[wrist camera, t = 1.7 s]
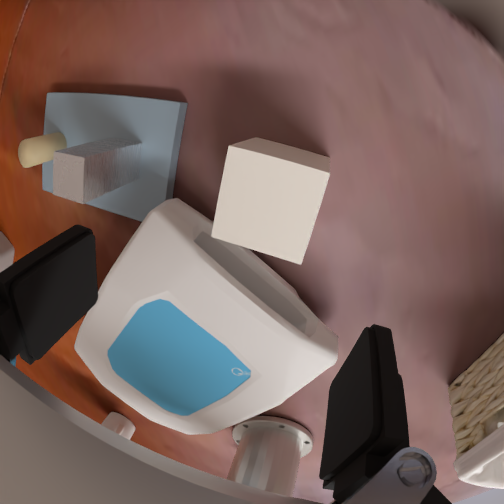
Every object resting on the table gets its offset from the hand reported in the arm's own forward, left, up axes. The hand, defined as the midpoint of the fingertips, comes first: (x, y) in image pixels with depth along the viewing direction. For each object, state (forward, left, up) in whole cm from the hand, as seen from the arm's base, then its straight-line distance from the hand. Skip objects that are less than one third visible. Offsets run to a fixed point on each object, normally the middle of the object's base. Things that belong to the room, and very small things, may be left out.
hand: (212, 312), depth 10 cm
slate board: (-1, +19, -19) cm, 27 cm away
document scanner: (-20, +7, -19) cm, 28 cm away
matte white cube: (0, 0, -19) cm, 19 cm away
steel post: (-1, +16, -17) cm, 23 cm away
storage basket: (-13, -38, -19) cm, 45 cm away
